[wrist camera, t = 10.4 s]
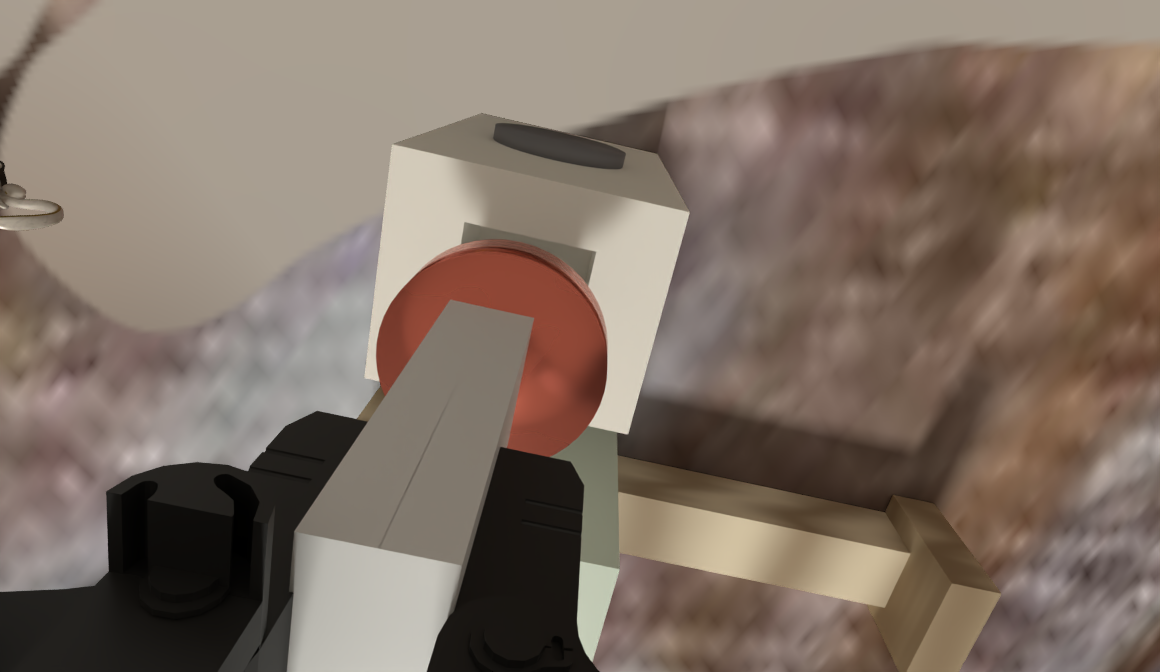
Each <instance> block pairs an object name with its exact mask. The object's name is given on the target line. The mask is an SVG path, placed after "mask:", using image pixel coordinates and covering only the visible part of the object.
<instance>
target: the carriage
mask: <svg viewBox="0 0 1160 672" xmlns="http://www.w3.org/2000/svg"><path fill="white" fill-rule="evenodd" d="M551 457H552V458H556V459H561V460H566V461H571V463H572V464H573V466H574V468H575V470H576V472H577V473H578V475H579V477H580V479H581V480H582V482H583V484H584V502H583V513H582V515H583V520H582V533H581V537H582V539H581V557H580V575H579V594H578V612H577V625H578V634H579V638H580V641H581V643H582V646H583V648H584V651H585V653H586V654H587V656H588V657H589V659H590V660H591V661H593V658H594V654H595V651H596V647H597V644H598V641H599V637H600V634H601V631H602V627H603V624H604V620H605V617H606V614H607V610H608V607H609V604H610V600H611V597H612V593H613V590H614V587H615V583H616V580H617V577H618V573H619V570H620V562H619V510H618V457H617V432H614V431H609V430H604V429H600V428H595V427H590V426H588V427H587V428H586V429H585V430H584V431H583V433H582V434H581V435H580V436H579V437H578V438H577V439H576V440H575V441H573V442H572V443H571V444H570V445H569V446H567V447H566V448H564V449H563V450H561V451H560V452H558V453H557V454H555V455H553V456H551Z"/></svg>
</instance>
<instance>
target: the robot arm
mask: <svg viewBox="0 0 1160 672" xmlns="http://www.w3.org/2000/svg"><path fill="white" fill-rule="evenodd" d="M533 321H534V318H532V317H528V316H523V315H518V314H514V313H509V312H505V311H500V310H496V309H491V308H486V307H482V306H477V305H473V304H468V303H464V302H459V301H454V300H450V301H449V302H448V304H447V305H446V307H445V308H444V310H443V311H442V313H441V314H440V316H439V317H438V319H437V320H436V322H435V323H434V325H433V326H432V328H431V329H430V330H429V332H428V333H427V335H426V336H425V338H424V339H423V341H422V342H421V344H420V345H419V347H418V348H417V350H416V351H415V353H414V354H413V356H412V357H411V359H410V360H409V362H408V363H407V365H406V366H405V368H404V369H403V371H402V372H401V374H400V375H399V377H398V378H397V380H396V381H395V382H394V384H393V385H392V387H391V388H390V390H389V391H388V393H387V394H386V396H385V397H384V399H383V400H382V402H381V403H380V405H379V406H378V408H377V409H376V411H375V412H374V414H373V415H372V417H371V418H370V420H369V421H368V422H367V421H363V420H358V419H353V418H348V417H344V416H339V415H334V414H329V413H325V412H320V411H316V412H314V413H312V414H310V415H308V416H306V417H304V418H301V419H299V420H297V421H295V422H293V423H291V424H289V425H287V426H285V427H284V429H283V430H282V431H281V432H280V433H279V434H278V435H277V436H276V437H275V439H274V440H273V441H272V442H271V443H270V444H269V445H268V446H267V448H266V451H265V452H262V453H261V454H260V455H259V457H258V458H257V459H256V460H255V461H254V462H253V463H252V464H251V465H250V468H249V471H244V470H241V469H238V468H235V467H232V466H229V465H222V464H210V463H199V462H195V463H186V464H177V465H168V466H162V467H159V468H156V469H152V470H149V471H146V472H143V473H140V474H136V475H133V476H131V477H129V478H128V479H126V480H124V481H123V482H121V483H120V484H118V485H116V486H115V487H113V488H111V489H110V490H108V491H106V496H107V528H108V559H109V572H108V573H107V574H106V575H105V576H104V577H103V578H102V579H101V580H100V581H99V582H98V583H97V584H96V585H95V586H89V587H80V588H72V589H59V590H36V591H14V592H0V672H599V671H598V670H597V668H596V667H595V666H594V664H593V663H592V661H591V660H590V659H589V657H588V656H587V654H586V653H585V651H584V648H583V646H582V643H581V641H580V638H579V634H578V625H577V612H578V594H579V575H580V557H581V539H582V537H581V533H582V520H583V515H582V513H583V502H584V484H583V482H582V480H581V479H580V477H579V475H578V473H577V472H576V470H575V468H574V466H573V464H572V463H571V461H566V460H561V459H556V458H552V457H547V456H542V455H537V454H533V453H528V452H523V451H518V450H514V449H509V448H507V446H508V441H509V436H510V431H511V427H512V422H513V417H514V412H515V407H516V403H517V398H518V393H519V388H520V383H521V379H522V374H523V369H524V364H525V359H526V354H527V350H528V345H529V340H530V335H531V330H532V326H533Z"/></svg>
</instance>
